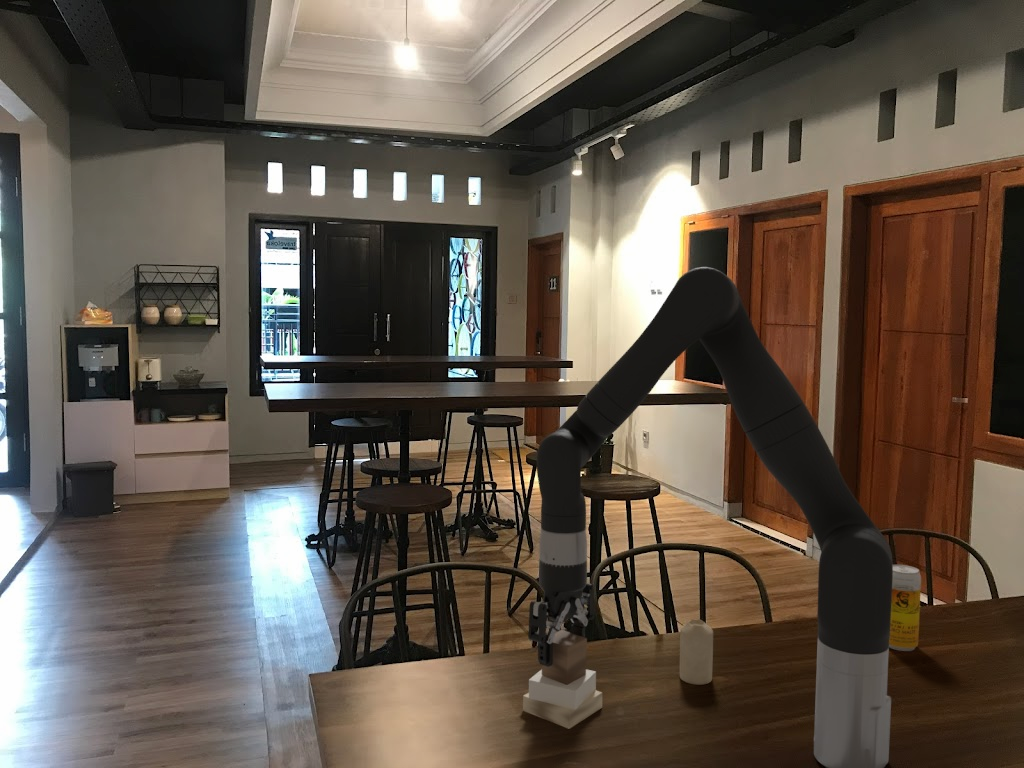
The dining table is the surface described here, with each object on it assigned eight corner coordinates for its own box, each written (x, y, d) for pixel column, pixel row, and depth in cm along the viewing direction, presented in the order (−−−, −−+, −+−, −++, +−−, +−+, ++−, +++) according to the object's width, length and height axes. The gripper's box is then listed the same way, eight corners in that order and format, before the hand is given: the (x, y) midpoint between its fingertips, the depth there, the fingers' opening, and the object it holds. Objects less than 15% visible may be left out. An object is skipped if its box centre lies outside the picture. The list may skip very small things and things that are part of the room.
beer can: (884, 650, 156) (888, 572, 155) (880, 638, 162) (883, 562, 161) (920, 654, 154) (924, 575, 153) (914, 641, 160) (918, 565, 159)
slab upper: (595, 689, 134) (596, 671, 134) (575, 710, 127) (575, 691, 127) (551, 678, 138) (551, 661, 138) (528, 698, 131) (528, 679, 131)
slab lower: (602, 710, 133) (602, 692, 133) (569, 732, 126) (569, 713, 126) (557, 694, 139) (557, 676, 139) (523, 713, 132) (523, 695, 132)
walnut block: (585, 674, 132) (586, 638, 132) (566, 685, 129) (567, 647, 128) (560, 665, 136) (561, 629, 135) (541, 675, 132) (542, 638, 131)
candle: (712, 686, 141) (714, 629, 140) (679, 683, 142) (680, 626, 141) (711, 672, 146) (712, 617, 145) (679, 670, 147) (680, 615, 146)
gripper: (554, 571, 123) (554, 678, 124) (608, 550, 133) (607, 648, 135) (515, 561, 127) (515, 664, 129) (570, 542, 138) (569, 637, 140)
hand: (562, 656), depth 132 cm, fingers open, 8 cm apart
